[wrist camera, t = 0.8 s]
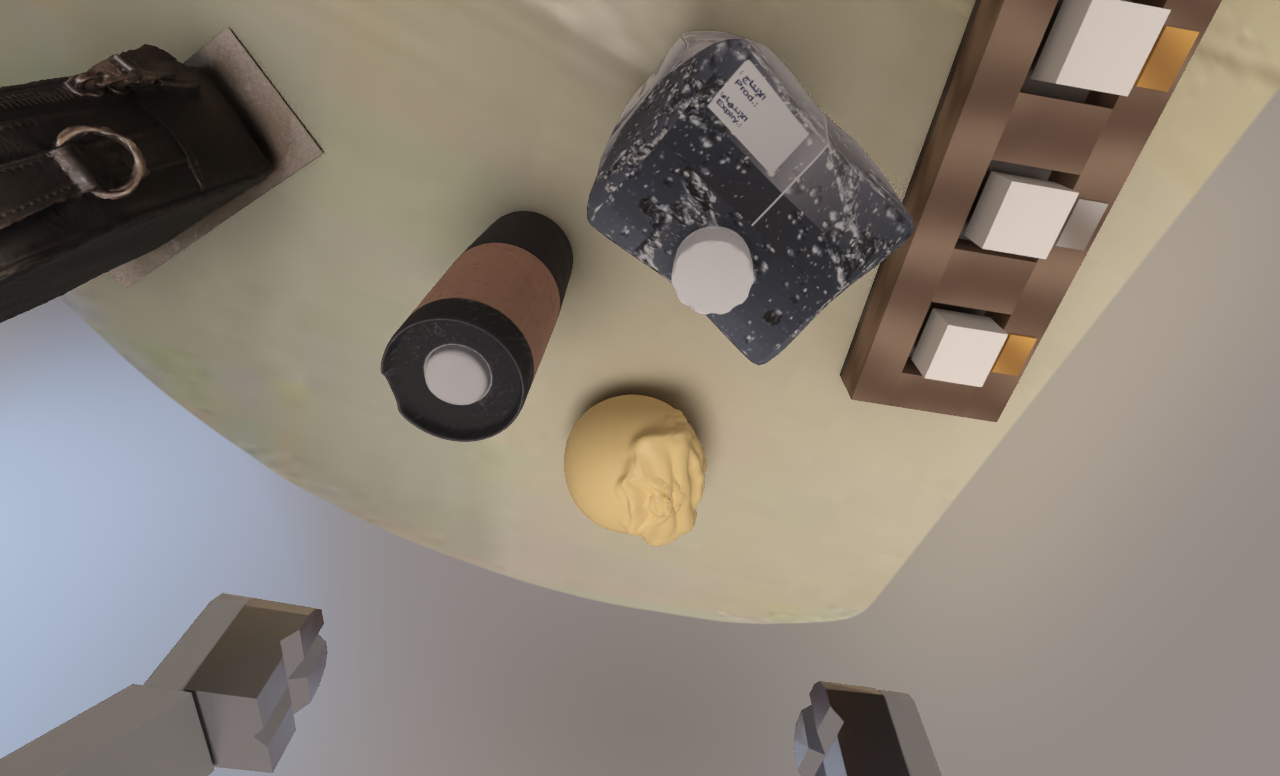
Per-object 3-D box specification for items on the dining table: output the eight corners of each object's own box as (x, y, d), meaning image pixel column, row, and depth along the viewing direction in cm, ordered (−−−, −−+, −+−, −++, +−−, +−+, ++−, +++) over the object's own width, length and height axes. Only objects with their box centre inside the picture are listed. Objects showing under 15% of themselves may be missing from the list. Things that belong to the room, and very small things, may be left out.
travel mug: (595, 243, 49) (554, 367, 32) (546, 318, 52) (486, 467, 35) (507, 186, 47) (413, 285, 30) (463, 267, 51) (355, 399, 33)
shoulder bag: (125, 289, 53) (-334, 520, 29) (26, 190, 49) (-601, 363, 25) (325, 152, 46) (-48, 301, 22) (230, 27, 43) (-344, 44, 18)
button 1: (933, 307, 47) (948, 324, 45) (989, 317, 48) (1008, 334, 45) (911, 359, 50) (924, 378, 47) (965, 367, 50) (981, 387, 47)
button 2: (1064, -4, 37) (1094, -5, 35) (1136, 10, 37) (1171, 9, 35) (1030, 79, 39) (1055, 83, 37) (1098, 91, 40) (1127, 96, 37)
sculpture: (706, 478, 60) (713, 563, 51) (581, 484, 61) (565, 568, 52) (700, 373, 55) (707, 446, 45) (563, 381, 56) (541, 455, 46)
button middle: (991, 170, 42) (1012, 181, 40) (1054, 181, 43) (1079, 192, 40) (963, 234, 45) (982, 248, 42) (1024, 245, 45) (1046, 259, 42)
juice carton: (700, 5, 41) (740, -6, 18) (810, 121, 44) (966, 242, 21) (612, 117, 44) (547, 231, 21) (719, 217, 48) (765, 410, 24)
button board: (1008, -88, 38) (1044, -99, 34) (1200, -51, 38) (1256, -58, 35) (839, 374, 54) (852, 401, 50) (976, 396, 54) (998, 424, 51)
